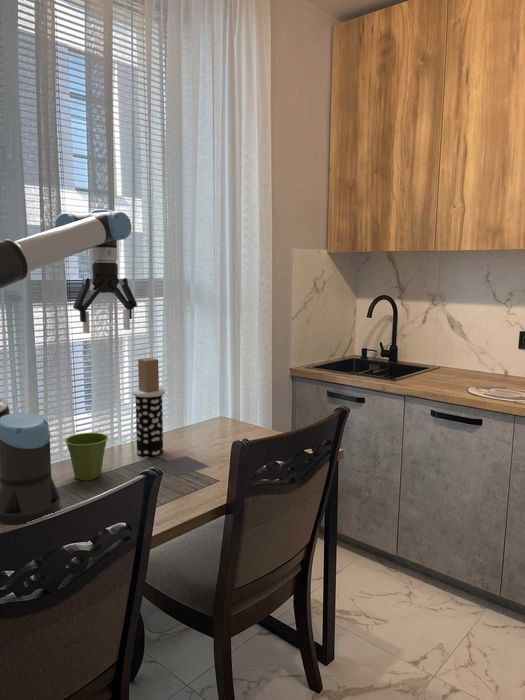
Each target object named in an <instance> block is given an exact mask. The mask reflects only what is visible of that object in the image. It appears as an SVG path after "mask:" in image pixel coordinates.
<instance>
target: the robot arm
mask: <svg viewBox="0 0 525 700" xmlns="http://www.w3.org/2000/svg"><path fill="white" fill-rule="evenodd" d="M54 227H55V228H52V229H49V230H46V231H43V232H39V233H36V234H33V235H31V236H26V237H24V238H20V239H18V240H14V241H13V240H12V239H7V238H6V239H2V240H0V289H3V288H6V287H8V286H10V285H13V284H15V283H17V282H19V281H23V280H24V279H26V278H27V277H28V275H29V273H30V272H33V271H35V270H38V269H40V268H42V267H43V268H44V267H45V266H48V265H50V264H53V263H56V262H58V261H61V260H64V259H66V258H68V257H72V256H75V255H76V254H79V253H82V252H85V251H87V250H89V249H91V260H92V261H93V263H92V264H91V269H92V278H89V277H83V278H82V285H81V287H80V290H79V292H78V295H77V296H76V299H75V301H74V304H73V306H72V308H73V309H74V310H77V311H79V320H80V323H81V322H82V332H83V333H85V334H90V331H91V330H90V329H91V328H90V312H89V311H88V309H89V307H90V306H91V305H92V303H93V301H94V300H95V299H96V297H98V295H100V294H106V293H107V294H108V293H110V294H111V293H112V294H113V295H114V296H115V297H116V299H117V300H118V301H119V302H120V303H121V304H122V305H123V307H124V308H123V309H122V319H123V320H122V321H123V322H122V323H123V330H125V331H130V330H131V319H132V318H133V317H132V315H133V313H132V312H133V311H132V310H133V309H134V308H136V307H138V303H137V300H136V299H135V297H134V294H133V293H132V290H131V288H130V286H129V282H128V278H127V277H120V278H119V277H118V275H119V268H118V266H119V264H118V263H117V261H118V241H123V240H126V239H127V238H129V236H130V235H131V232H132V223H131V219H130V217H129V216H128V215H127V214H126V213H125V212H123V211H115V210H111V209H99V208H98V209H92V210H90V212H87V213H86V212H85V213H83V212H82V213H74V212H62V213H59V215H57V216H56V218H55V222H54ZM91 285H93V288H92V289H91V290H90V293H89V294H88V291H89V288H90V286H91ZM118 285H120V286H121V289H122V291H123V293H124V294H123V293H122V291H121V290H120V288H119V287H118ZM87 294H88V295H87ZM51 464H52V462H51V433H50V427H49V423H48V421H47V419H45V417H43V416H41V415H39V414H36V413H31V412H29V413H25V412H15V413H11V412H10V408H9V403H8V402H7V401H6V400H3V399H1V398H0V523H1V524H5V525H23V523H25V524H27V523H26V522H29V521H32V520H35V519H38V518H41V517H43V516H45V515H48V514H51V513H54V512H56V511H57V512H58V511H59V510H60V508H61V497H60V494H59V492H58V488H57V487H56V484H55V482H54V480H53V476H52V465H51ZM57 512H56V513H57ZM54 514H55V513H54Z"/></svg>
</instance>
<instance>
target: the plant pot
mask: <svg viewBox="0 0 525 700" xmlns="http://www.w3.org/2000/svg"><path fill="white" fill-rule="evenodd" d="M108 440H109V436H108V435H107V434H105V433H101V432H83V433H76V434H73V435H69V436H67V437H66V438H65V439H64V443H65V444H66V446H67V450H68V451H69V452H68V453H69V456H70V460H71V461H70V462H71V465H72V470H73V471H72V472H73V476H74V478H75V479H76V480H80V481H91V480H94V479H96V478H99V477H101V475H102V469H103V463H104V456H105V455H104V454H105V448H106V445H107V441H108Z"/></svg>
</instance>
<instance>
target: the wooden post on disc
mask: <svg viewBox="0 0 525 700" xmlns="http://www.w3.org/2000/svg"><path fill="white" fill-rule="evenodd" d="M137 361H138V362H137V364H138V365H137V367H138V368H137V369H138V371H137V372H138V373H137V374H138V388H134V389H133V390H132V395H133V396H134V397H136V396H137V397H157V396H161V395H162V396H163V395H166V389H165V388H162V387H160V386H159V385H160V383H159V382H160V381H159V380H160V377H159V373H160V372H159V359H157V358H152V357H147V358H139V359H138V360H137Z"/></svg>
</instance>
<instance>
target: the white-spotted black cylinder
mask: <svg viewBox="0 0 525 700" xmlns="http://www.w3.org/2000/svg"><path fill="white" fill-rule="evenodd" d="M163 413H164V412H163V395H161V396H157V397H137V396H135V424H136V427H135V429H136V430H135V431H136V432H135V433H136V434H135V435H136V436H135V437H136V455H137V456H138V457H140V458H156V457H160V456H162V455H163V454H164V428H163V425H164V421H163V420H164V419H163Z"/></svg>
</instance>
